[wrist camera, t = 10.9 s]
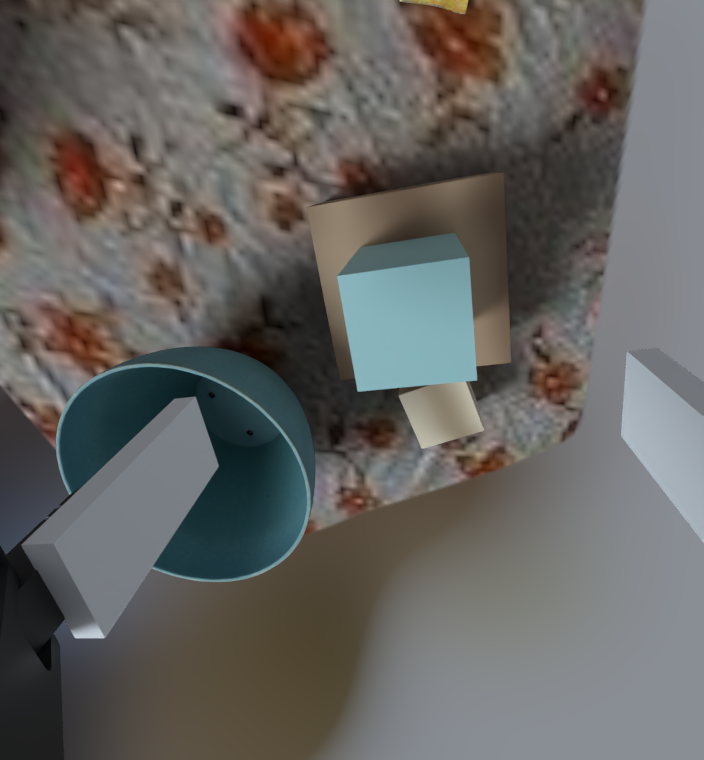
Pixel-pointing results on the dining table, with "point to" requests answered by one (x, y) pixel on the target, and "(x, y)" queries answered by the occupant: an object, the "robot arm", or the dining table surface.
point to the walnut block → (418, 220)
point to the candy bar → (444, 4)
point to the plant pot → (231, 447)
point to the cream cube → (441, 411)
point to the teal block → (409, 313)
